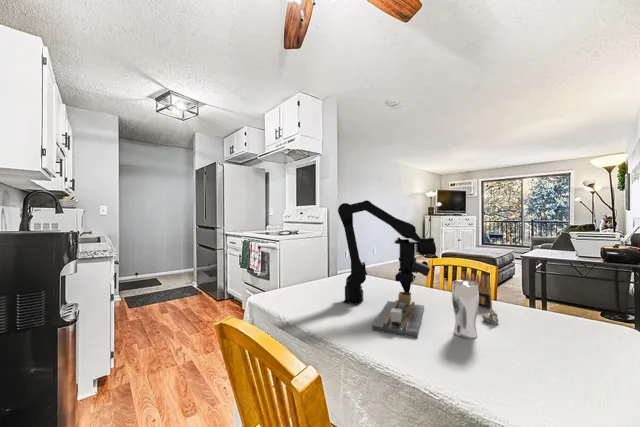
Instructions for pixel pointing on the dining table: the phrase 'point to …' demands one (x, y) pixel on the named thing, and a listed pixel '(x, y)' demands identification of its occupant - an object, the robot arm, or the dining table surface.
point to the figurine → (490, 316)
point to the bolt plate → (409, 319)
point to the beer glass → (465, 308)
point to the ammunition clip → (486, 290)
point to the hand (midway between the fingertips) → (407, 294)
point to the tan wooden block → (404, 297)
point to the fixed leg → (396, 315)
